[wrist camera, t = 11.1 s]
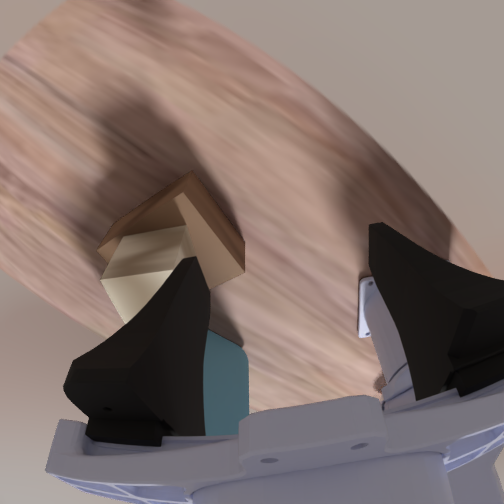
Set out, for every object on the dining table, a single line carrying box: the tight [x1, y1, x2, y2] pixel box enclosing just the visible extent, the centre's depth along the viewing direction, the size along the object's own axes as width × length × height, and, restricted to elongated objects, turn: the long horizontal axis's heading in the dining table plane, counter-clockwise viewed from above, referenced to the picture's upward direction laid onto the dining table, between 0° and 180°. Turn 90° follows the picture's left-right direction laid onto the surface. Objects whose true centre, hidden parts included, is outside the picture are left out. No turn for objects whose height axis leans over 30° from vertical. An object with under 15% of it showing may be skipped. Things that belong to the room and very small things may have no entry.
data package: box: [203, 329, 249, 436], centre depth 26 cm, size 12×4×12 cm, turn 49°
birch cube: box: [100, 225, 196, 324], centre depth 19 cm, size 4×4×4 cm
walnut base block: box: [96, 171, 245, 290], centre depth 23 cm, size 8×7×4 cm
